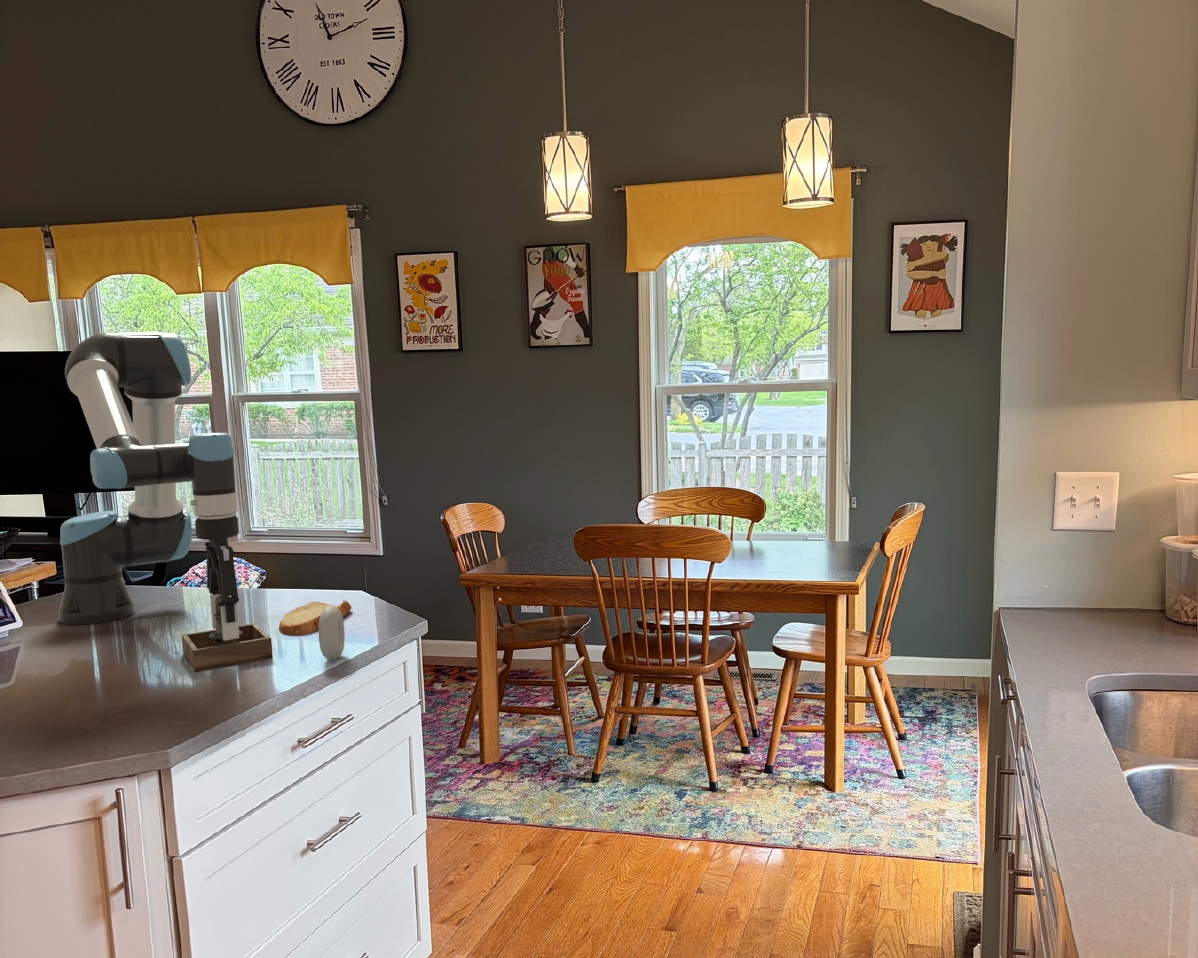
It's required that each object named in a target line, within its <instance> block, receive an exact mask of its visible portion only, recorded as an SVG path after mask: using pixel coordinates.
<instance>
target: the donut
mask: <svg viewBox="0 0 1198 958" xmlns="http://www.w3.org/2000/svg"><path fill="white" fill-rule="evenodd" d="M335 606H336V605H334V606H329V607H326V608H325V609H324V610H323V611H322V613H321V615H320V619H319V630H318V641H319V649H320V651H321V652H320V653H321V654H322V656H323V657H324V658H325V659H326V660H328V661H332V662H333V661H336V660H338V659H339V658H340V657H341V656H342V655H343V651H344V648H345V638H346V637H345V636H346V635H345V623H344V616H342V613H341V611H340V610H339V609H338V608H337V607H335Z"/></svg>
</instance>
